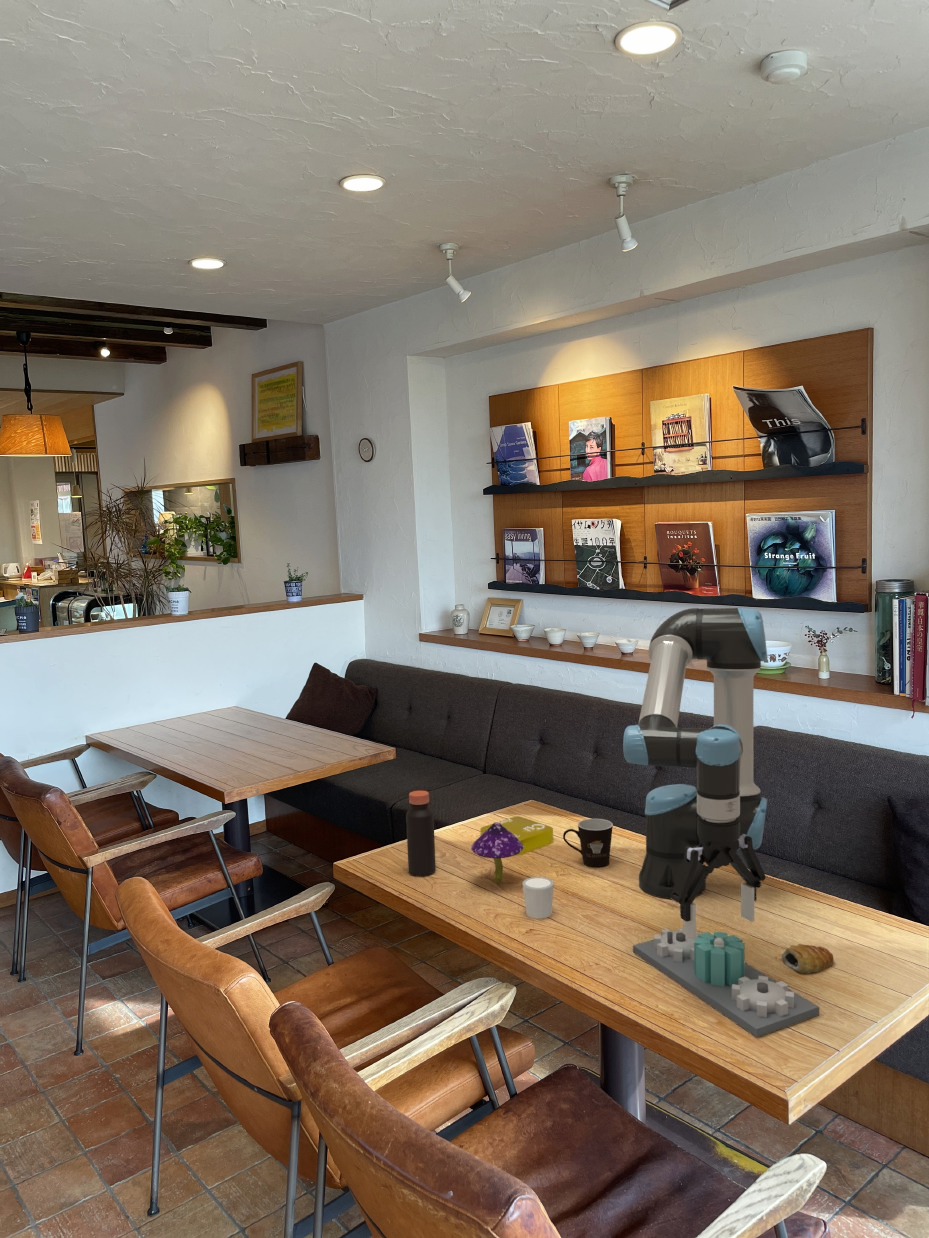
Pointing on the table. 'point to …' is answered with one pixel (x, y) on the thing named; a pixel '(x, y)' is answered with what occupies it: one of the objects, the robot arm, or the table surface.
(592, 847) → the coffee mug
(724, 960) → the idler gear
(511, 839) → the decorative mushroom
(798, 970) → the pastry
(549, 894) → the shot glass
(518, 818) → the element tile
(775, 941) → the table surface
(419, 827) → the bottle
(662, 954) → the gear board
